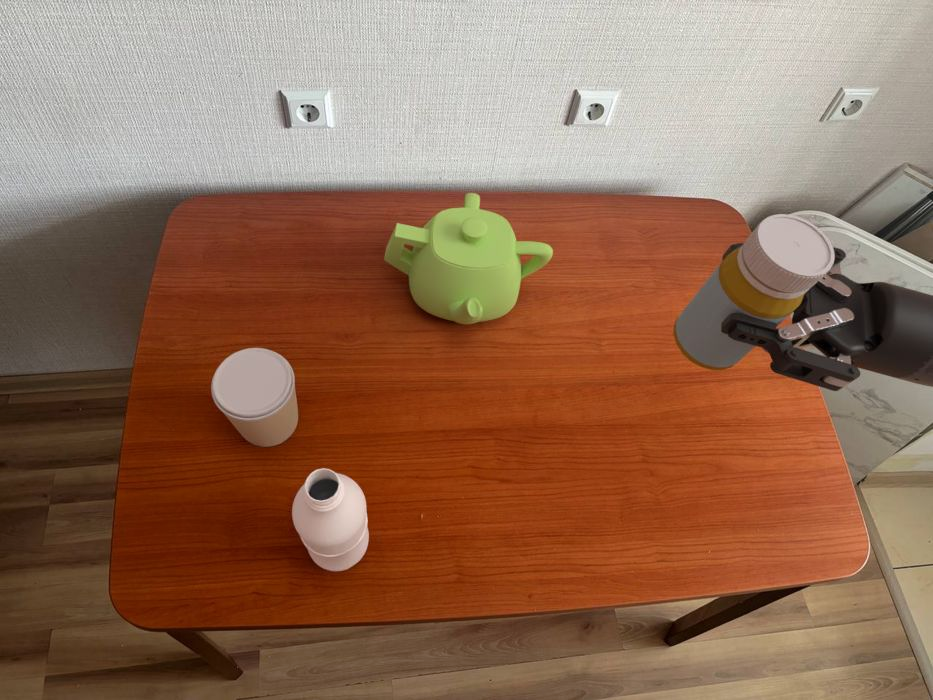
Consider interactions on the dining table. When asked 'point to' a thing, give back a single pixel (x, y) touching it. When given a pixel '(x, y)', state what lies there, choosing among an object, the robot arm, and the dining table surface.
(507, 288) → the teapot
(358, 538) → the water bottle
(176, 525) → the dining table surface
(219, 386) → the coffee cup
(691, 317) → the bottle
